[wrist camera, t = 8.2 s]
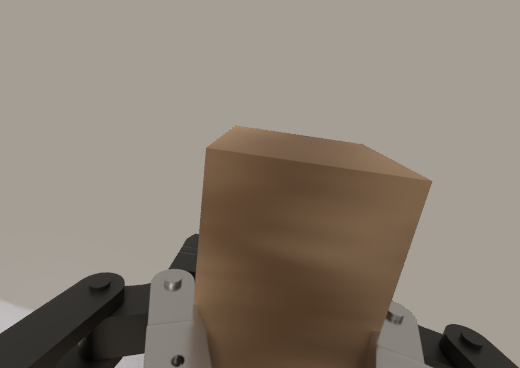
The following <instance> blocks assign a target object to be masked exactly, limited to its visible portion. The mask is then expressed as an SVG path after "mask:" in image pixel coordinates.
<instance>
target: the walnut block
mask: <svg viewBox="0 0 520 368" xmlns="http://www.w3.org/2000/svg"><path fill="white" fill-rule="evenodd" d="M431 184H432V181H431V180H429V179H427V178H425V177H423V176H421V175H420V174H418V173H416V172H414V171H412V170H410V169H408V168H406V167H404V166H402V165H401V164H399V163H397V162H395V161H393V160H391V159H389V158H387V157H386V156H384V155H382V154H380V153H378V152H376V151H374V150H372V149H370V148H369V147H367V146H365V145H363V144H356V143H350V142H343V141H336V140H330V139H323V138H316V137H309V136H302V135H296V134H289V133H281V132H275V131H268V130H262V129H255V128H248V127H241V126H235V127H233V128H232V129H230V130H229V131H228V132H227V133H225V134H224V135H223V136H221V137H220V138H219V139H217V140H216V141H215V142H213V143H212V144H211V145H209V146H208V147H207V148H206V157H205V170H204V181H203V193H202V206H201V217H200V229H199V241H198V254H197V266H196V278H195V290H194V302H193V304H195V305H198V310H199V317H200V319H201V318H203V319H204V323H205V329H206V335H207V341H208V347H209V354H210V360H211V366H212V368H365V367H366V361H367V347H368V341H369V338H370V335H371V332H372V331H378V332H381V330H382V327H383V324H384V321H385V318H386V315H387V312H388V310H389V307H390V304H391V301H392V298H393V295H394V292H395V289H396V286H397V283H398V280H399V277H400V274H401V271H402V269H403V266H404V262H405V260H406V257H407V254H408V251H409V248H410V245H411V242H412V239H413V236H414V233H415V230H416V227H417V225H418V222H419V219H420V216H421V213H422V210H423V207H424V204H425V201H426V198H427V195H428V192H429V189H430V186H431Z"/></svg>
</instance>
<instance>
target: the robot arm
mask: <svg viewBox="0 0 520 368" xmlns="http://www.w3.org/2000/svg"><path fill="white" fill-rule="evenodd" d="M198 241H199V234H194V235H192V236H191V237H189V238H187V240H186V241H185V243H184V244H183V247H182V248H181V250H180V252H179V253H178V255H177V256H176V258H175V259H174V261H173V263H172V264H171V266H170V268H169V269H168V270H165V271H162V272H160V273H158V274H157V275H155V276H154V277H153V279H152V281H151V283H149V284H144V285H136V286H135V285H134V286H125V282H124V279H123V278H122V277H121V276H120V275H118V274H114V273H98V274H94V275H91V276H88V277H86V278H84V279H82V280H81V281H79V282H78V283H76V284H75V285H73V286H72V287H70V288H69V289H67V290H66V291H64V292H63V293H61V294H60V295H58V296H57V297H55V298H54V299H52V300H51V301H49V302H47V303H46V304H44V305H43V306H42V307H40V308H39V309H37V310H35V311H34V312H32V313H31V314H29V315H28V316H26V317H25V318H23V319H22V320H20V321H19V322H17V323H16V324H14V325H13V326H11V327H10V328H8V329H7V330H5V331H4V332H2V333H1V334H0V368H114V367H115V366H116V365H117V364H118V363H119V361H120V360H121V359H122V357H123V356H130V355H137V354H143V353H145V355H144V368H212V366H211V360H210V354H209V347H208V341H207V335H206V329H205V323H204V319H203V318H201V319H200V317H199V310H198V305H195V304H193V302H194V290H195V278H196V266H197V254H198ZM365 368H519V367H517V366H516V365H515V364H514V363H513V362H512V361H511V360H510V359H508V358H507V357H506V356H505V355H504V354H503V353H502V352H501V351H499V350H498V349H497V348H496V347H495V346H494V345H493V344H492V343H490V342H489V341H488V340H487V339H486V338H484V337H483V336H482V335H480V334H479V333H477V332H475V331H473V330H472V329H469V328H467V327H464V326H461V325H457V324H450V325H447V326H446V328H445V330H444V332H443V334H441V333H438V332H435V331H432V330H430V329H427V328H424V327H422V326H419V325H418V324H417V320H416V318H415V317H414V315H413V314H412V313H411V312H410V311H409V310H408V309H406V308H405V307H403V306H402V305H400V304H398V303H396V302H393V301H391V304H390V307H389V310H388V312H387V315H386V318H385V321H384V324H383V327H382V330H381V332H378V331H372V332H371V335H370V338H369V341H368V347H367V361H366V367H365Z"/></svg>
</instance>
